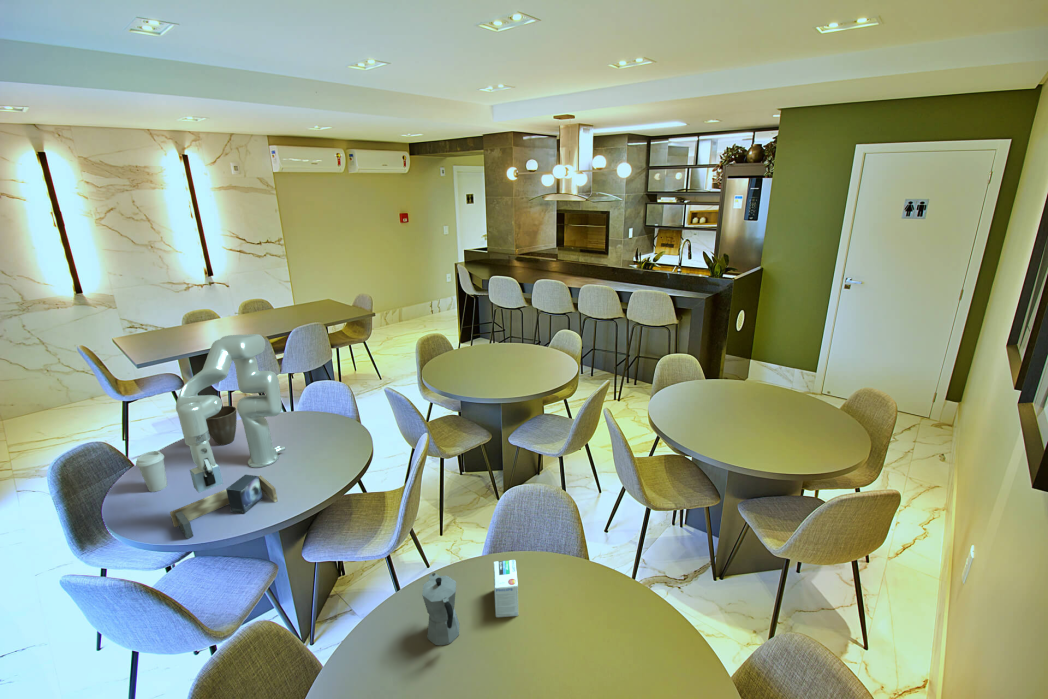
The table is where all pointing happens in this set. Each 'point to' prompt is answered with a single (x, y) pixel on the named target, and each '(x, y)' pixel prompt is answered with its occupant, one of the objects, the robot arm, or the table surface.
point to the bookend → (184, 524)
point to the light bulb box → (506, 588)
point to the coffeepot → (441, 609)
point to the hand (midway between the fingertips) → (207, 481)
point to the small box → (244, 494)
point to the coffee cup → (153, 470)
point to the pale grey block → (199, 478)
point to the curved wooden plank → (217, 502)
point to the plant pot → (223, 425)
